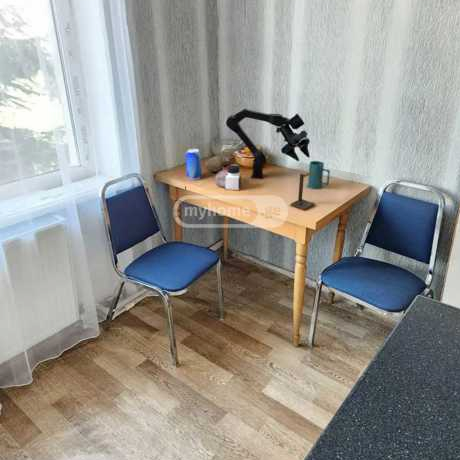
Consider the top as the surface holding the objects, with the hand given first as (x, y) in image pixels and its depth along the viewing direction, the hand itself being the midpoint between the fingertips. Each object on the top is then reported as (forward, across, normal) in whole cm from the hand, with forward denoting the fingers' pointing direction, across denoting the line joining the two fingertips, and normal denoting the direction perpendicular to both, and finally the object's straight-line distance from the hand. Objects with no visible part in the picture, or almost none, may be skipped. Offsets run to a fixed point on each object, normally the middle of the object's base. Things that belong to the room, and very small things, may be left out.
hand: (303, 158), depth 209 cm
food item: (-10, -31, +29) cm, 43 cm away
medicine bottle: (-5, -31, +24) cm, 39 cm away
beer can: (-24, -37, +44) cm, 62 cm away
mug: (+17, 0, +2) cm, 17 cm away
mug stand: (+23, -21, -4) cm, 31 cm away
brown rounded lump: (-26, -17, +46) cm, 55 cm away
